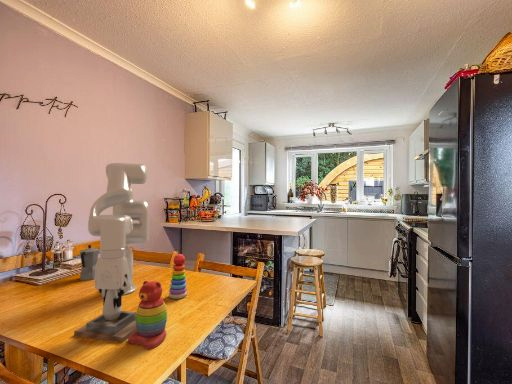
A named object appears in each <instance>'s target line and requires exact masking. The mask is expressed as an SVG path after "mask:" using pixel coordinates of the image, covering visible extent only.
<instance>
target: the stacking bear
mask: <svg viewBox="0 0 512 384" xmlns="http://www.w3.org/2000/svg"><path fill="white" fill-rule="evenodd" d="M142 284H143V285H142V286H141V287H140V289H139V291H138V298H139V299H140V301H139V303H138V305H137V309H136V327H137V331H136V332H134V333H133V334H131V335H130V336H129V338H128V339H127V343H128V344H131V345H138V344H139V345H141V346H143V348H144V349H147V350H150V349H155V348H156V347H158V346H160V344H162V343H163V342H164V341H165V339H166V337H167V330H166V326H167V321H168V312H167V311H168V310H167V306H166V302H165V301H164V299H163V298H162V295H163V286H162V284H161V282H159V281H155V280H152V281H151V280H150V281H148V280H144V281H143V282H142Z"/></svg>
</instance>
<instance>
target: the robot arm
mask: <svg viewBox="0 0 512 384" xmlns="http://www.w3.org/2000/svg"><path fill="white" fill-rule="evenodd" d="M105 175H106V177H107V185H106V192H105V193H104V194H101V196H99V197H98V198H97V199H96V200H95V201H94V203H93V204H92V205H91V208H90V209H89V210H90V211H89V216H88V221H87V222H88V223H87V231H88V233H89V234H90V235H91V236H92V237H99V238H100V239H99V240H100V241H99V242H100V243H99V244H100V245H99V253H98V254H99V257H98V259H97V265H96V271H95V279H94V289H96V290H97V291H98V292H99V293H100V295H101V297H102V299H103V301H102V302H103V303H102V304H103V305H102V306H104V303H105V298H106V293H107V290H114V294H115V298H114V299H113V305H114V310H115V306H116V304H117V307H120V306H122V302H123V301H122V300H123V299H122V297H123V296H125V295H128V294H131V293H134V292H135V291H136V290H137V286H136V285H135V284H133V283H134V281H133V279H134V274H133V273H134V266H133V265H134V253H133V250H132V248H131V247H130V246H129V244H143V243H147V242H148V241H149V238H150V206H149V204H148V202H147V201H146V200H134V197H133V196H134V195H133V193H134V192H133V191H134V190H133V189H132V187H131V186H132V185H143V184H145V183H146V182H147V180H148V168H147V166H146V165H145V164H144V163H128V162H126V163H125V162H113V163H112V162H111V163H109V164H107V165H105ZM108 208H112V214H102V213H103V211H105V210H107V209H108ZM134 221H138V222H135V223H134ZM118 290H119V291H118Z"/></svg>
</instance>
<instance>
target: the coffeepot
mask: <svg viewBox="0 0 512 384" xmlns="http://www.w3.org/2000/svg"><path fill="white" fill-rule="evenodd" d="M99 250H100V248H93V247H92V245H91V244H88V245H87V248H85V249H81V250H79V254H80V255H79V256H80V260H81V269H80V275H79V280H80V281H83V282H85V281H86V282H88V281H93V280H94V281H95V271H96V265H97V261H98V258H99V254H100V253H99Z"/></svg>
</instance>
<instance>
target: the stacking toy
mask: <svg viewBox="0 0 512 384" xmlns="http://www.w3.org/2000/svg"><path fill="white" fill-rule="evenodd" d="M172 261H173V263H174V265H173V267H172V268H173V269H172V272H171V273H172V275H171V280H170V285H169V286H170V287H169V289H168V297H169V298H170V299H173V300H178V299H179V300H181V299H183V298H186V297H187V296H188V291H187V282H186V281H187V279H186V274H185V273H186V270H185V268H186V267H185V266H186V265H185V262H186V258H185V256H184V254H181V253H178V254H175V255H174V257H173V260H172Z"/></svg>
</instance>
